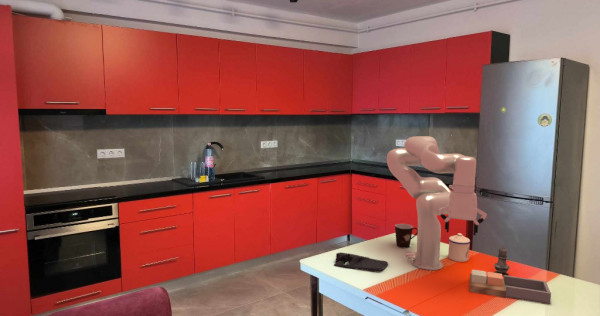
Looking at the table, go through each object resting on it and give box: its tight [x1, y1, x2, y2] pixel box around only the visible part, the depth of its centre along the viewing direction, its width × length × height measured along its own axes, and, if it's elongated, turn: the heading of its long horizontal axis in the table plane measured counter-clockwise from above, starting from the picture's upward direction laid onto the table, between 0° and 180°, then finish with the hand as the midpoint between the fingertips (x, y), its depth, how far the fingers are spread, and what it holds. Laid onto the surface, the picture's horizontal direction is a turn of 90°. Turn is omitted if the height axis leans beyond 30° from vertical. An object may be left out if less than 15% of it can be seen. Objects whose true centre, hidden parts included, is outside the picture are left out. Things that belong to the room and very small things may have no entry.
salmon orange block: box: [486, 271, 504, 287], centre depth 154 cm, size 5×5×3 cm
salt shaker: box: [493, 245, 511, 278], centre depth 168 cm, size 6×6×12 cm
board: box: [469, 272, 507, 298], centre depth 155 cm, size 12×12×2 cm
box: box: [503, 275, 552, 305], centre depth 150 cm, size 14×11×4 cm
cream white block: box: [471, 269, 487, 284], centre depth 156 cm, size 5×5×3 cm
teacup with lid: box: [448, 232, 471, 263], centre depth 186 cm, size 12×9×12 cm
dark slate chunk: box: [333, 252, 389, 272], centre depth 178 cm, size 15×22×5 cm
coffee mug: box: [394, 223, 418, 249], centre depth 201 cm, size 12×9×10 cm
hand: (460, 232), depth 157 cm, fingers open, 9 cm apart
